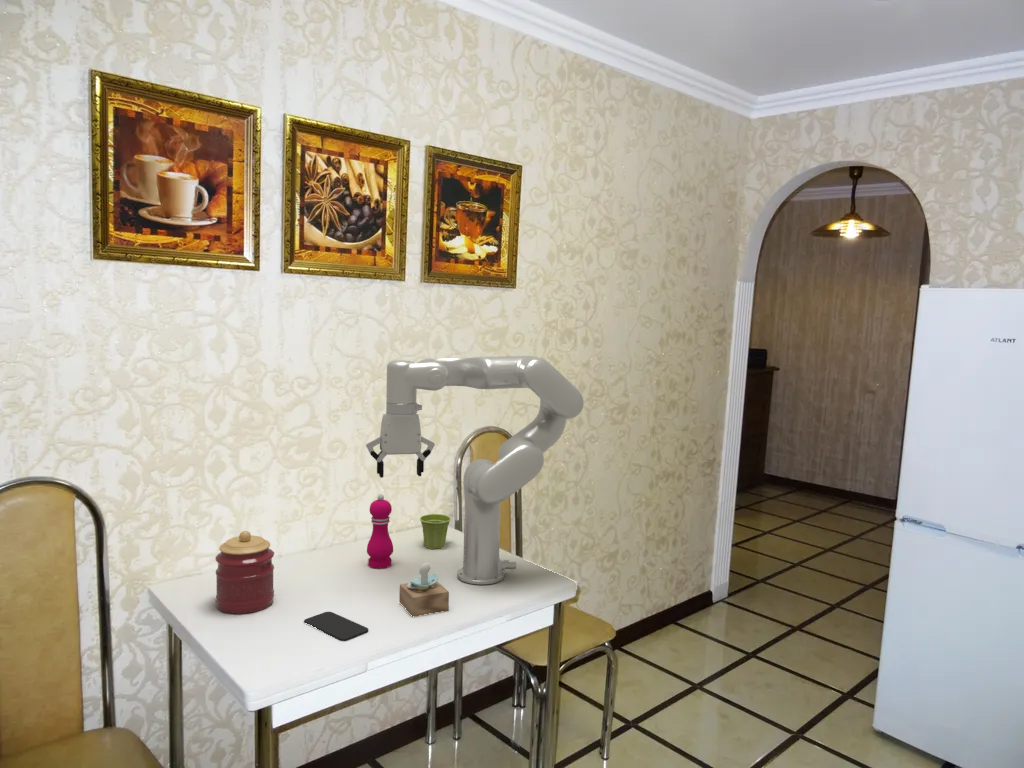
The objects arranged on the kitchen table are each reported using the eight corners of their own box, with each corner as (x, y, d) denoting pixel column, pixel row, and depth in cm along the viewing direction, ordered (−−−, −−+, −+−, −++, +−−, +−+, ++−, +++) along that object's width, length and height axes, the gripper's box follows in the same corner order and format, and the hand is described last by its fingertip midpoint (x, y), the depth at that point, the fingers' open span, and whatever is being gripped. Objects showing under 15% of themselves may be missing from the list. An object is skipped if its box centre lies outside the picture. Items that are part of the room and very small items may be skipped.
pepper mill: (398, 564, 201) (399, 493, 199) (380, 571, 195) (381, 498, 193) (379, 558, 205) (380, 489, 203) (361, 565, 199) (361, 494, 197)
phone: (329, 610, 167) (370, 629, 158) (329, 614, 168) (370, 632, 158) (301, 620, 162) (343, 640, 152) (301, 623, 162) (343, 643, 152)
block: (434, 598, 178) (434, 579, 178) (448, 612, 170) (448, 591, 170) (399, 604, 174) (399, 584, 174) (412, 618, 166) (412, 597, 166)
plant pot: (455, 544, 220) (456, 516, 219) (440, 553, 211) (441, 524, 211) (429, 539, 224) (429, 512, 223) (413, 548, 215) (413, 519, 214)
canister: (215, 597, 174) (214, 525, 173) (271, 590, 179) (271, 521, 178) (216, 618, 162) (215, 542, 161) (276, 610, 167) (276, 536, 166)
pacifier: (401, 588, 171) (419, 594, 168) (401, 562, 171) (418, 568, 167) (423, 580, 177) (441, 585, 173) (423, 555, 177) (440, 560, 173)
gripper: (432, 407, 189) (430, 471, 190) (365, 407, 183) (364, 474, 185) (437, 411, 181) (436, 477, 183) (368, 411, 176) (367, 480, 178)
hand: (400, 475), depth 184 cm, fingers open, 9 cm apart
